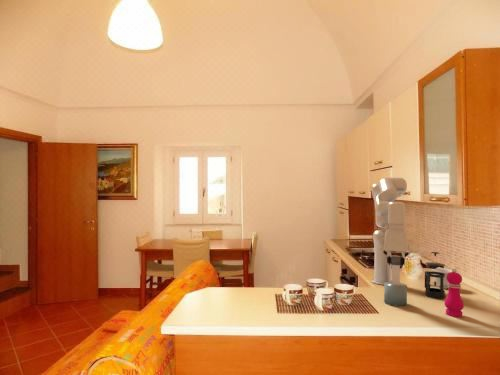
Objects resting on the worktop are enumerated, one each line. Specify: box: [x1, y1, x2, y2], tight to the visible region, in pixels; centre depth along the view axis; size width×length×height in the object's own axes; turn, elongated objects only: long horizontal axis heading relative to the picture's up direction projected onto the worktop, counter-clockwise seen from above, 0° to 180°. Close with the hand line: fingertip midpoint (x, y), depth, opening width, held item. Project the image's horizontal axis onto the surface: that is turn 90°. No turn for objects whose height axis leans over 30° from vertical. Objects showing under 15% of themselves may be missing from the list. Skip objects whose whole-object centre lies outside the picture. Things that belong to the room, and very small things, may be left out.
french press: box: [424, 251, 446, 300], centre depth 180 cm, size 12×9×23 cm
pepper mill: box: [444, 268, 465, 318], centre depth 150 cm, size 7×7×20 cm
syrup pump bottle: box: [383, 264, 408, 307], centre depth 165 cm, size 10×10×18 cm
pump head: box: [390, 254, 402, 266], centre depth 167 cm, size 8×5×12 cm, turn 157°
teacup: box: [430, 267, 452, 290], centre depth 200 cm, size 12×15×10 cm
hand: (395, 265), depth 166 cm, fingers closed on pump head, 5 cm apart
